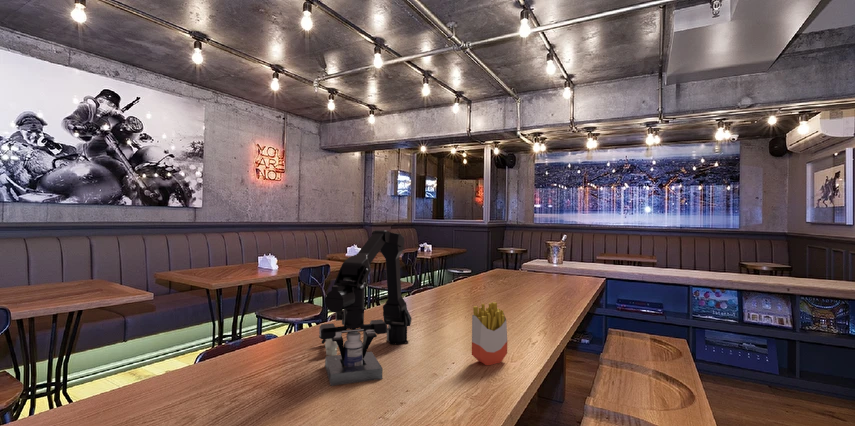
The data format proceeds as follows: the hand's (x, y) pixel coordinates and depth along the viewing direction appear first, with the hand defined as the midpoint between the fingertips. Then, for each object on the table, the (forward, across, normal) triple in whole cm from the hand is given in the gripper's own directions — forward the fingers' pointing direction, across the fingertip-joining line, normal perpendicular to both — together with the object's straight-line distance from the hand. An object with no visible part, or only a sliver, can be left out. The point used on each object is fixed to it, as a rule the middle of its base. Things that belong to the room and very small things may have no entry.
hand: (353, 358), depth 111 cm
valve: (+4, +4, -21) cm, 22 cm away
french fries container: (+4, -42, +5) cm, 42 cm away
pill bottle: (+3, 0, 0) cm, 3 cm away
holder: (+4, 0, 0) cm, 4 cm away
